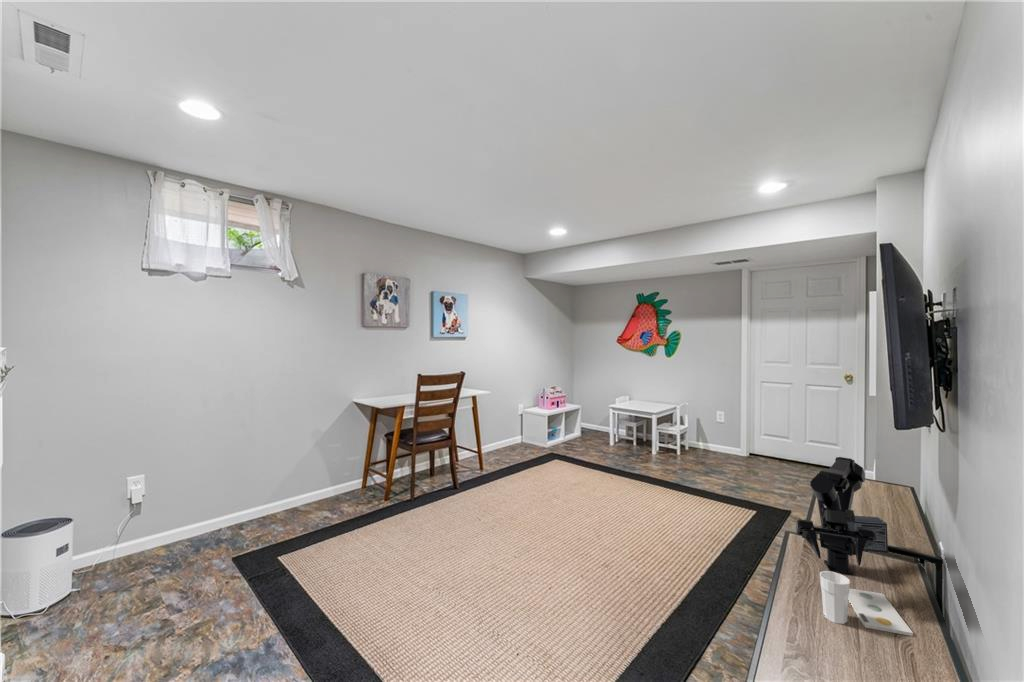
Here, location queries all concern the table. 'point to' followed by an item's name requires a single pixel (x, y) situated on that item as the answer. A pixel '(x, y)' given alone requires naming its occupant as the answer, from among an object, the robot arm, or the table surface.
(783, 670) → the table surface
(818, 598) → the table surface
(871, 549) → the small box
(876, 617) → the indicator panel
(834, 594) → the cup
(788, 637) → the table surface
